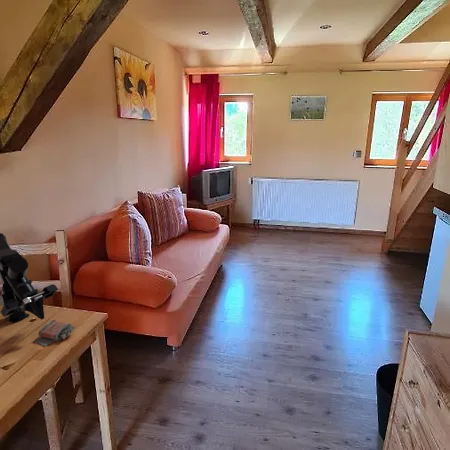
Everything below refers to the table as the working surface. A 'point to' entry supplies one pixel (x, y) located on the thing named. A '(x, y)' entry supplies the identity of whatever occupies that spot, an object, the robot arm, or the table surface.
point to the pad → (44, 341)
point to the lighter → (56, 330)
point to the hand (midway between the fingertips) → (43, 318)
